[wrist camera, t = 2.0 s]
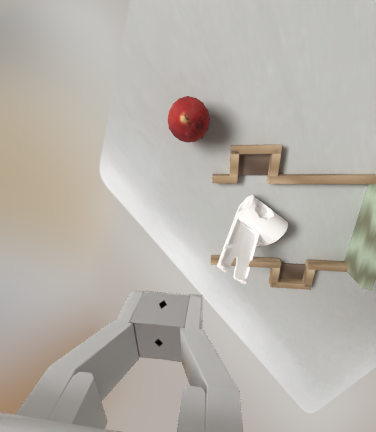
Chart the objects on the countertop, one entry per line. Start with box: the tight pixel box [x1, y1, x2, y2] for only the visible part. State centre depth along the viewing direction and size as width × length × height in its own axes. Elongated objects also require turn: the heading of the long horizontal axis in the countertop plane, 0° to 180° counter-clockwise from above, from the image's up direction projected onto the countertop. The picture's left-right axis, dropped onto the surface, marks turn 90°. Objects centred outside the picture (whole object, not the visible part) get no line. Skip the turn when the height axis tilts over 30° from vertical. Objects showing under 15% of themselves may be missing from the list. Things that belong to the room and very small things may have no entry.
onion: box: [168, 96, 210, 142], centre depth 29 cm, size 6×6×8 cm
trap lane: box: [211, 145, 376, 290], centre depth 35 cm, size 27×26×6 cm
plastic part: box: [217, 195, 288, 284], centre depth 33 cm, size 8×10×12 cm
